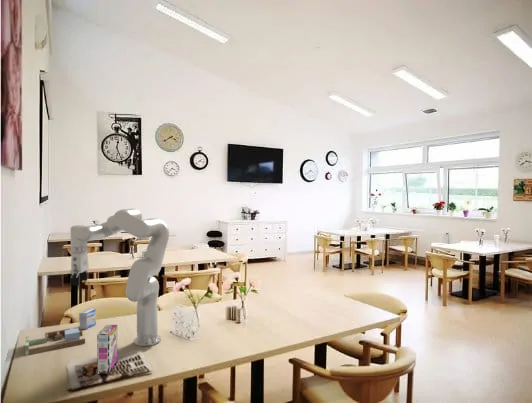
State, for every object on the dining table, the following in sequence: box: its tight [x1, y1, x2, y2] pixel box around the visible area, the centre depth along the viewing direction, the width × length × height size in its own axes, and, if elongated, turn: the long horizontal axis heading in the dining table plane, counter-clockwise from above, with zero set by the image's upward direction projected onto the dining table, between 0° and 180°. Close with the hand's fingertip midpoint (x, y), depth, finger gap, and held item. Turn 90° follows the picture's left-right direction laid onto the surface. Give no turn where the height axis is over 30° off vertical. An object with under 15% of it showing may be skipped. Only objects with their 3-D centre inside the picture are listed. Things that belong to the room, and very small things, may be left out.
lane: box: [25, 328, 86, 356], centre depth 183 cm, size 18×24×4 cm
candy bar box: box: [96, 324, 118, 372], centre depth 156 cm, size 11×5×16 cm, turn 5°
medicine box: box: [78, 308, 97, 330], centre depth 203 cm, size 8×4×9 cm, turn 168°
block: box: [64, 327, 81, 342], centre depth 184 cm, size 6×6×5 cm
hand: (79, 282), depth 194 cm, fingers open, 9 cm apart
